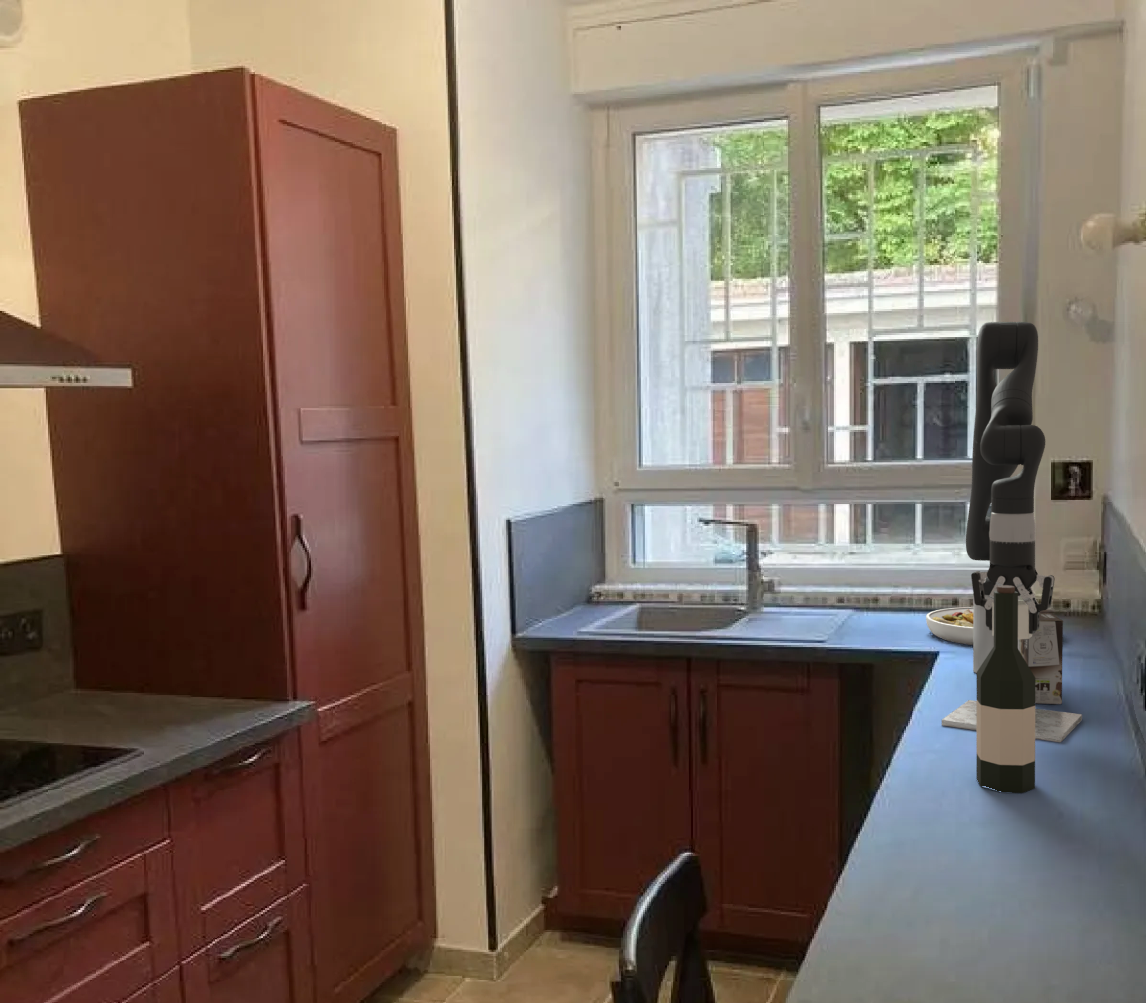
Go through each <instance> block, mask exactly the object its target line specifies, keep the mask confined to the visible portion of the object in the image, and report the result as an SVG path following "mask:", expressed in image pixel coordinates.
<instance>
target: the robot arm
mask: <svg viewBox="0 0 1146 1003" xmlns="http://www.w3.org/2000/svg"><path fill="white" fill-rule="evenodd" d="M1038 353H1039V333H1038V329H1037V327H1036V326H1035V324H1034V323H1031V322H1028V321H987V322H984V323H983V324H981V325H980V327H979V329H978V334H977V340H976V404H975V405H976V406H975V416H974V427H973V436H972V438H973V439H972V462H971V463H972V467H971V490H970V500H969V507H968V508H969V509H968V514H967V515H968V516H967V522H966V532H965V549H966V554H967V555H968V558H970V560H973V561H979V562H981V561H985V562H987V561H988V562H989V567H988V570H987V571H980V570H977V571H973V572H972V573H971V575H970V576H971V586H972V594H973V601H972V602H973V605H972V607H973V645H972V646H973V647H972V649H973V650H972V660H973V661H972V671H973V672H974V673H976V674H977V671H978V669H979V668H980V666H981V665H982V663H983V662H984V660H985V659H986V657H987V656H988V654H989V653H990V651H991V650H992V648H993V647H994V636H992V602H994V591H997V586H1000V585H1009V586H1014V587H1015V591H1016V592H1018V600H1021V598H1022V600H1024V602H1025V603H1026V604H1027V605H1029V610H1030V613H1029V634H1034V633H1035V632H1036V631H1037V630H1038V629H1039V614H1040V613H1041V612H1042V611H1046V610H1048V609H1050V608H1051V607H1052V601H1053V593H1054V588H1055V587H1054V585H1055V578H1056V577H1055V575H1053V574H1049V575H1044V574H1043V575H1042V574H1038V572H1037V568H1036V521H1035V520H1036V519H1035V488H1036V487H1035V485H1036V478H1037V475H1038V470H1039V466H1040V464H1041V461H1042V459H1043V456H1044V452H1045V448H1046V437H1045V433H1044V432H1043V430H1042V429H1041V427H1039V426H1038V425H1036V424H1033V417H1034V414H1033V412H1034V411H1033V390H1034V383H1035V377H1036V371H1037V363H1038V355H1039V354H1038ZM994 370H1012V371H1011V372H1009V374H1007V375H1005V377H1004V378H1003V379H1001V381H1000V382H999V383H998V384H997V382H996V379H995V377H994ZM1020 465H1021V466H1022V470H1021V471H1020V472H1019V473H1018V474H1016V475H1014V476H1012V475H1013V474H1014V473H1015V472H1016V470H1017V468H1018V466H1020ZM990 506H991V507H990ZM989 508H991V509H990V510H991V511H990V512H991V513H990V514H991V515H990V516H987V514H988V511H989ZM1036 582H1038V583H1039V587H1040V588H1042V589H1041V590H1042V591H1041V599H1040V603H1039V602H1038V600H1037V598H1036V595H1035V592H1034V590H1033V588H1032V587H1033V585H1034V584H1035V583H1036ZM1018 650H1019V639H1018Z"/></svg>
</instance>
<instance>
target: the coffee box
mask: <svg viewBox="0 0 1146 1003" xmlns="http://www.w3.org/2000/svg"><path fill="white" fill-rule="evenodd" d="M1063 637H1064V620H1062V619H1061V618H1060V617H1058V616H1057V615H1056V614H1054V613H1053V612H1040V614H1039V629H1038V630H1037V631H1036V632H1035V633H1034V634H1032V637H1030V638H1029V639H1019V651H1020V653H1021V655H1022V656H1023V658H1024V660H1025V661H1026V663H1027V665H1028V666H1029V668H1030V670H1031V671H1032V673H1033V675H1034V676H1035V704H1040V705H1041V704H1043V705H1044V704H1045V705H1047V704H1048V705H1061V704H1062V703H1063V644H1064V643H1063V642H1064V641H1063V640H1064V639H1063Z"/></svg>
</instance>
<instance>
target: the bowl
mask: <svg viewBox="0 0 1146 1003" xmlns="http://www.w3.org/2000/svg"><path fill="white" fill-rule="evenodd" d="M925 617H926V618H925V620H926V625H927V628H928V629H929V631H930V632H931V633H932V634H933V635H934V636H936V637H938V638H940V639H941V638H942V640H944V641H949V642H950V643H951V642H952V643H957V644H962V645H968V646H973V606H971V607H969V606H965V607H952V608H951V607H950V608H941V609H937V610H933V611H930V612H928V613H927V614H926V616H925Z"/></svg>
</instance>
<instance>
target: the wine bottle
mask: <svg viewBox="0 0 1146 1003" xmlns="http://www.w3.org/2000/svg"><path fill="white" fill-rule="evenodd" d="M976 701H977V730H976V765H975V766H976V773H975V774H976V779H977V780H978V782H979V783H978V782H977V783H978V785H979V784H980V785H979V787H980V786H986V787H989V788H992V789H995V790H997V791H1001V792H1012V793H1011V794H1024V793H1027V792H1029V791H1032V790H1035V789H1036V739H1035V709H1036V703H1035V676H1034V675H1033V673H1032V671H1031V670H1030V668H1029V666H1028V665H1027V663H1026V661H1025V660H1024V658H1023V656H1022V655H1021V653H1020V651H1019V650H1018V592H1016V591H1015V587H1014V586H1009V585H1000V586H997V591H994V647H993V648H992V650H991V651H990V653H989V654H988V656H987V657H986V659H985V660H984V662H983V663H982V665H981V666H980V668H979V669H978V671H977V673H976ZM977 780H976V781H977Z"/></svg>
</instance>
